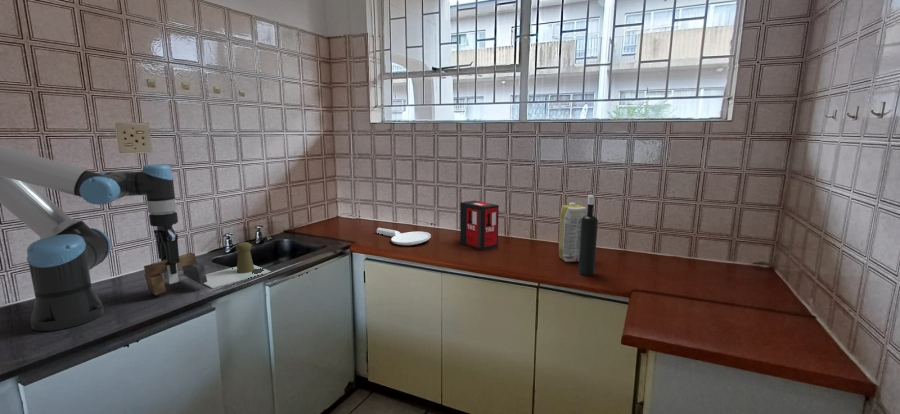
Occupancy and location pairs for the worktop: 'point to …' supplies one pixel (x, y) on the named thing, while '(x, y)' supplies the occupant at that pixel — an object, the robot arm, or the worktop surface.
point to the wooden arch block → (185, 261)
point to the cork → (244, 258)
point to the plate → (229, 277)
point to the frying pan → (405, 236)
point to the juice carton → (570, 231)
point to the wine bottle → (588, 241)
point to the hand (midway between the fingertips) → (171, 281)
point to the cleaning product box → (479, 225)
